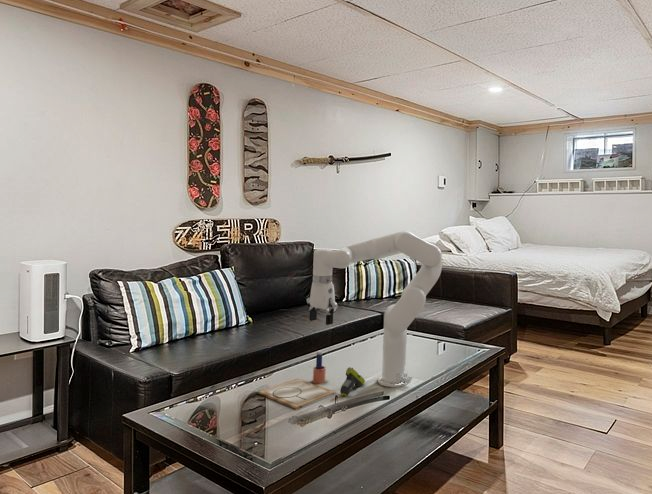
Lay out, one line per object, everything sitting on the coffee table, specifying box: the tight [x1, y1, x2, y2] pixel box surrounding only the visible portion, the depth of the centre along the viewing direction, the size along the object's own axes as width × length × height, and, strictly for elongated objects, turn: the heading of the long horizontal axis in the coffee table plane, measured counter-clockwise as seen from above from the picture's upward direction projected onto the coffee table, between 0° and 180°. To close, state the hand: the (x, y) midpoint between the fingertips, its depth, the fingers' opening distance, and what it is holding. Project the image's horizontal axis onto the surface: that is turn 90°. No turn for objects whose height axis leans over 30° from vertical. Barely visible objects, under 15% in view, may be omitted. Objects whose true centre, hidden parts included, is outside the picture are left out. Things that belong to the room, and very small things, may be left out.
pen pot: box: [312, 365, 327, 384], centre depth 197 cm, size 5×5×6 cm
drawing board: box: [258, 378, 336, 410], centre depth 185 cm, size 22×18×1 cm
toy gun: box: [339, 366, 366, 398], centre depth 189 cm, size 2×14×10 cm
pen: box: [315, 350, 323, 369], centre depth 197 cm, size 2×2×12 cm
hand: (321, 322), depth 197 cm, fingers open, 9 cm apart
